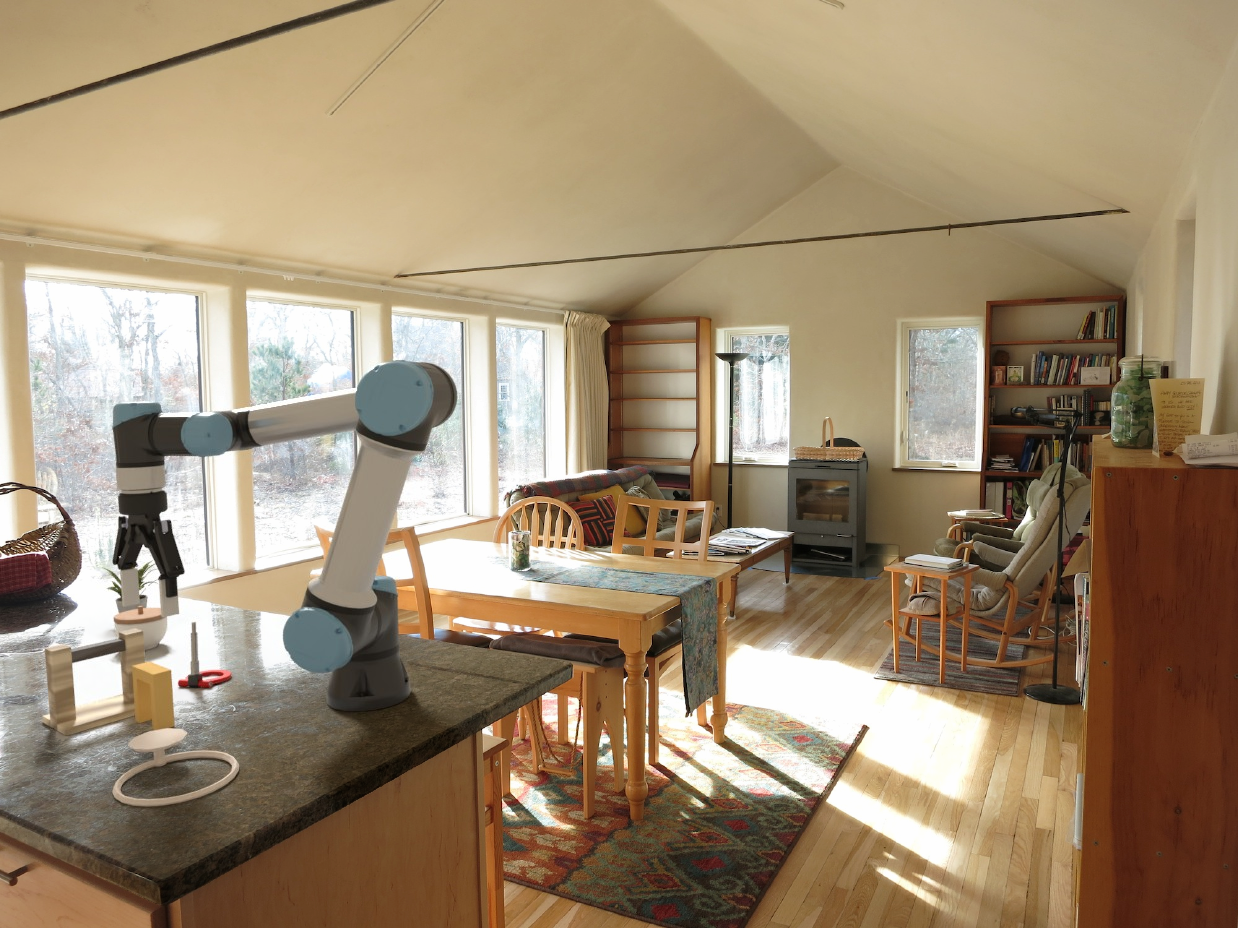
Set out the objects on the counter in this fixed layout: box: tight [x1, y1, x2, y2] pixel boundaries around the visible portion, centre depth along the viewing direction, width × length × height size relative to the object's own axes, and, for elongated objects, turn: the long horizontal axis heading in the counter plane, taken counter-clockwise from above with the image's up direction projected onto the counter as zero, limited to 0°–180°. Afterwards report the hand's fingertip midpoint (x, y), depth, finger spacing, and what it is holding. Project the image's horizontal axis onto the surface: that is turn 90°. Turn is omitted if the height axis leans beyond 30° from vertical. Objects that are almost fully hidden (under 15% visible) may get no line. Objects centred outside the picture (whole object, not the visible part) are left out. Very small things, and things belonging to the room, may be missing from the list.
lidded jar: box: [113, 606, 168, 651], centre depth 199 cm, size 11×11×9 cm
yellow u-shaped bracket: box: [132, 661, 176, 731], centre depth 152 cm, size 8×3×10 cm, turn 52°
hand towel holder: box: [111, 727, 240, 807], centre depth 132 cm, size 17×4×21 cm
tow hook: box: [177, 621, 232, 689], centre depth 175 cm, size 8×13×9 cm
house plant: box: [100, 560, 159, 614], centre depth 219 cm, size 14×14×16 cm
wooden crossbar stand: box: [41, 628, 146, 736], centre depth 156 cm, size 10×15×14 cm, turn 142°
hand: (150, 610), depth 154 cm, fingers open, 13 cm apart
